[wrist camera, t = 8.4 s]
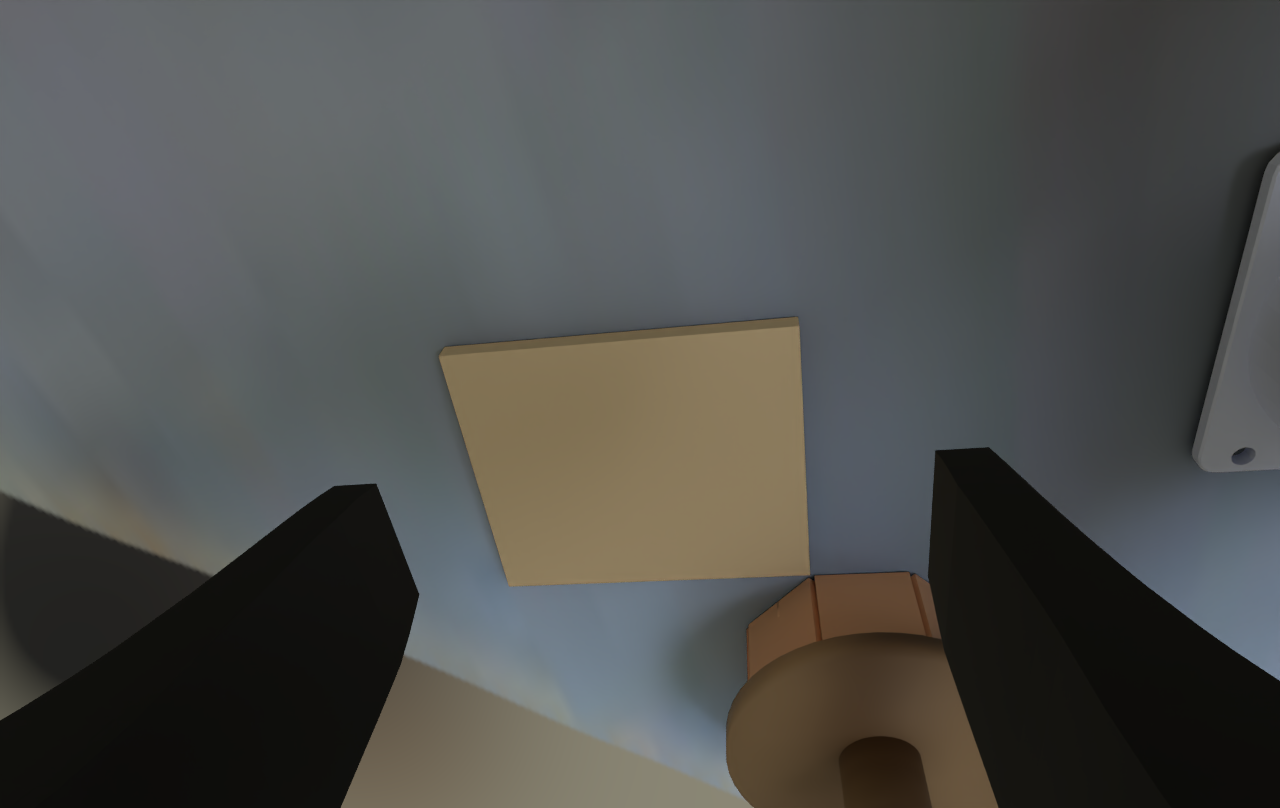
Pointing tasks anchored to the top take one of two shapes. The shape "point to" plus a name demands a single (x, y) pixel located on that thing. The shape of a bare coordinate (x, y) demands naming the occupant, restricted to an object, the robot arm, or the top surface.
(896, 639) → the lid
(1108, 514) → the top surface
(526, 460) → the mat
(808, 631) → the bowl
